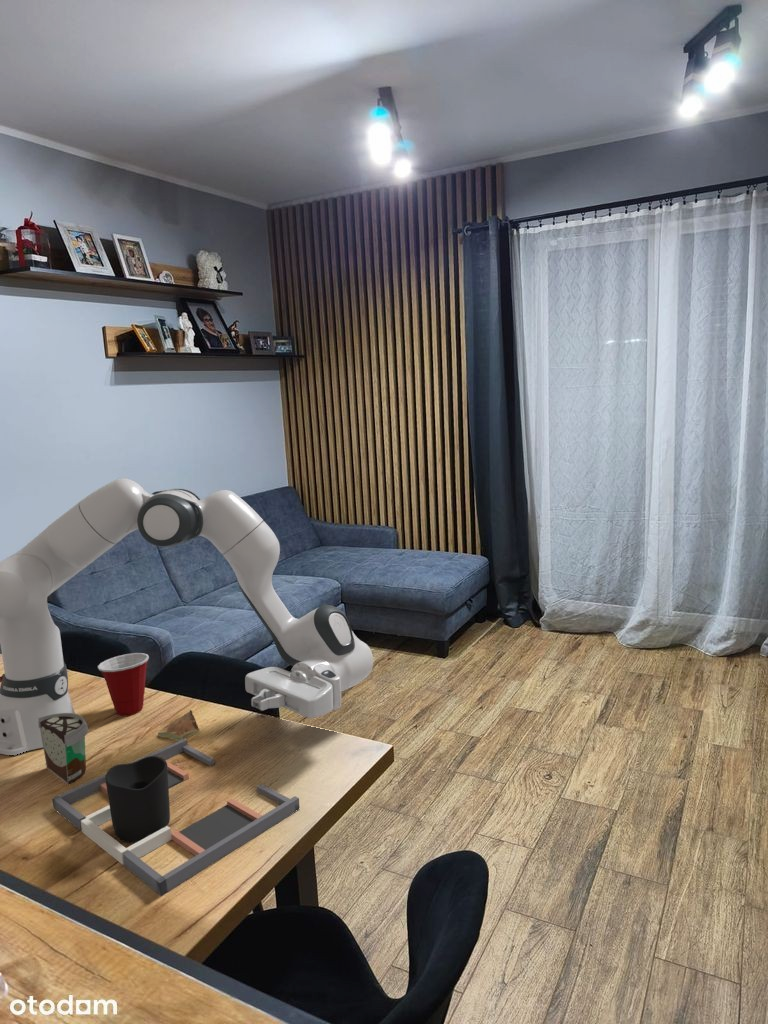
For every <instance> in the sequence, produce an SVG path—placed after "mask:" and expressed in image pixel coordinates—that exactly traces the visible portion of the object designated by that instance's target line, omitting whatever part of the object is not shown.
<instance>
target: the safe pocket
mask: <svg viewBox="0 0 768 1024" xmlns="http://www.w3.org/2000/svg"><path fill="white" fill-rule="evenodd" d="M110 820H111V821H112V818H111V812H110V805H109V804H108V805H107V806H104V807H103V808H100V809H98V810H96V811H94V812H92V813H90V814H88V815H85V819H83V820H81V827H82V830H81V832H82V833H83V834H84V835H85V836H86V837H87V838H88V839H90V840H91V841H93V842H94V843H95V844H96V845H98V846H99V848H101V849H102V850H104V851H105V852H106V853H107V854H109V855H110V856H111V857H113V858H114V859H115V860H116V861H117V862H118V863H120V864H121V865H122V866H125V865H124V856H123V854H125V853H126V852H128V851H130V852H132V853H133V854H134V855H136V856H137V857H138V858H139V859H141V858H142V857H143V856H146V855H147V854H149V853H151V852H153V851H155V850H156V849H159V848H160V847H162V846H164V845H165V844H166V843H168V842H170V841H173V840H172V836H171V832H172V827H170V826H169V825H168V826H166V827H164V828H162V829H160V830H159V831H157V832H155V833H153V834H151V835H149V836H148V837H146V838H144V839H142V840H140V841H138V842H135V843H132V844H131V845H129V846H128V847H125V846H124V845H123V844H121V843H120V842H119V841H118V840H116V839H115V838H114V837H112V836H111V835H110V834H108V833H107V832H106V831H104V830H103V829H102V828H100V827H99V826H100V825H103V824H105V823H107V822H109V821H110Z"/></svg>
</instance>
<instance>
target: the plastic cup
mask: <svg viewBox="0 0 768 1024" xmlns="http://www.w3.org/2000/svg"><path fill="white" fill-rule="evenodd" d="M149 659H150V656H149V654H147V653H143V652H134V653H133V652H132V653H126V654H122V655H117V656H114V657H110V658H108V659H105V660H104V661H102V662H100V663H99V664H98V665H97V669H98V671H100V672H101V674H102V676H103V679H104V681H105V683H106V686H107V689H108V692H109V696H110V699H111V701H112V705H113V708H114V712H115V713H116V715H118V716H123V717H125V716H131V715H135V714H137V713H139V712H141V711H142V709H144V700H145V699H144V697H145V690H146V689H145V688H146V677H147V676H146V675H147V674H146V673H147V666H148V661H149Z"/></svg>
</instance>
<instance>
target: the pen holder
mask: <svg viewBox="0 0 768 1024" xmlns="http://www.w3.org/2000/svg"><path fill="white" fill-rule="evenodd" d="M137 760H138V759H137ZM135 761H136V760H135ZM166 761H167V760H166ZM166 761H165V760H164V759H163V758H160V757H157V756H148V757H145V758H143V759H141V760H138V761H136V762H133V761H132V762H133V763H131V762H129V763H120V764H119V763H118V764H116V765H114V766H111V767H110V768H109V769H108V770H107V772H106V773H105V774H106V775H105V780H106V786H107V793H108V795H107V798H108V803H109V804H108V805H110V812H111V818H112V819H111V822H112V829H113V833H114V835H115V837H116V838H117V839H118V840H120V841H121V842H124V843H131V844H135V843H137V842H138V841H140V840H142V839H144V838H146V837H148V836H149V835H151V834H153V833H155V832H157V831H159V830H160V829H162V828H164V827H166V826H168V827H169V824H170V821H171V813H170V812H171V811H170V788H168V770H167V762H168V761H167V762H166Z"/></svg>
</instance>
